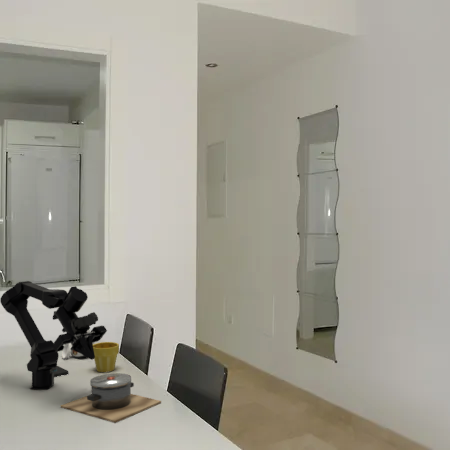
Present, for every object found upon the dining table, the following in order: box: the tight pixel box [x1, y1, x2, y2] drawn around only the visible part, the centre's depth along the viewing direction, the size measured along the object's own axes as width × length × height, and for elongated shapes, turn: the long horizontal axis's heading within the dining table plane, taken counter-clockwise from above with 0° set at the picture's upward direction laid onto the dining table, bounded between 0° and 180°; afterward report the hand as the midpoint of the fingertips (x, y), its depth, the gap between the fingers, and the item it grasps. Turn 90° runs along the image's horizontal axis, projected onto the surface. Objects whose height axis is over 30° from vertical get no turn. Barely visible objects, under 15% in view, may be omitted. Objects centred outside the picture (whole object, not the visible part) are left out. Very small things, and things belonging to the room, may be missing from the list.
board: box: [60, 393, 162, 424], centre depth 173 cm, size 24×20×1 cm
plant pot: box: [93, 341, 120, 373], centre depth 213 cm, size 10×10×10 cm
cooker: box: [86, 381, 135, 410], centre depth 173 cm, size 12×17×6 cm
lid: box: [89, 373, 132, 388], centre depth 173 cm, size 13×13×2 cm
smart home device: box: [52, 365, 69, 378], centre depth 213 cm, size 8×2×20 cm
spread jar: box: [61, 328, 95, 360], centre depth 232 cm, size 12×11×12 cm
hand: (93, 358), depth 177 cm, fingers closed
